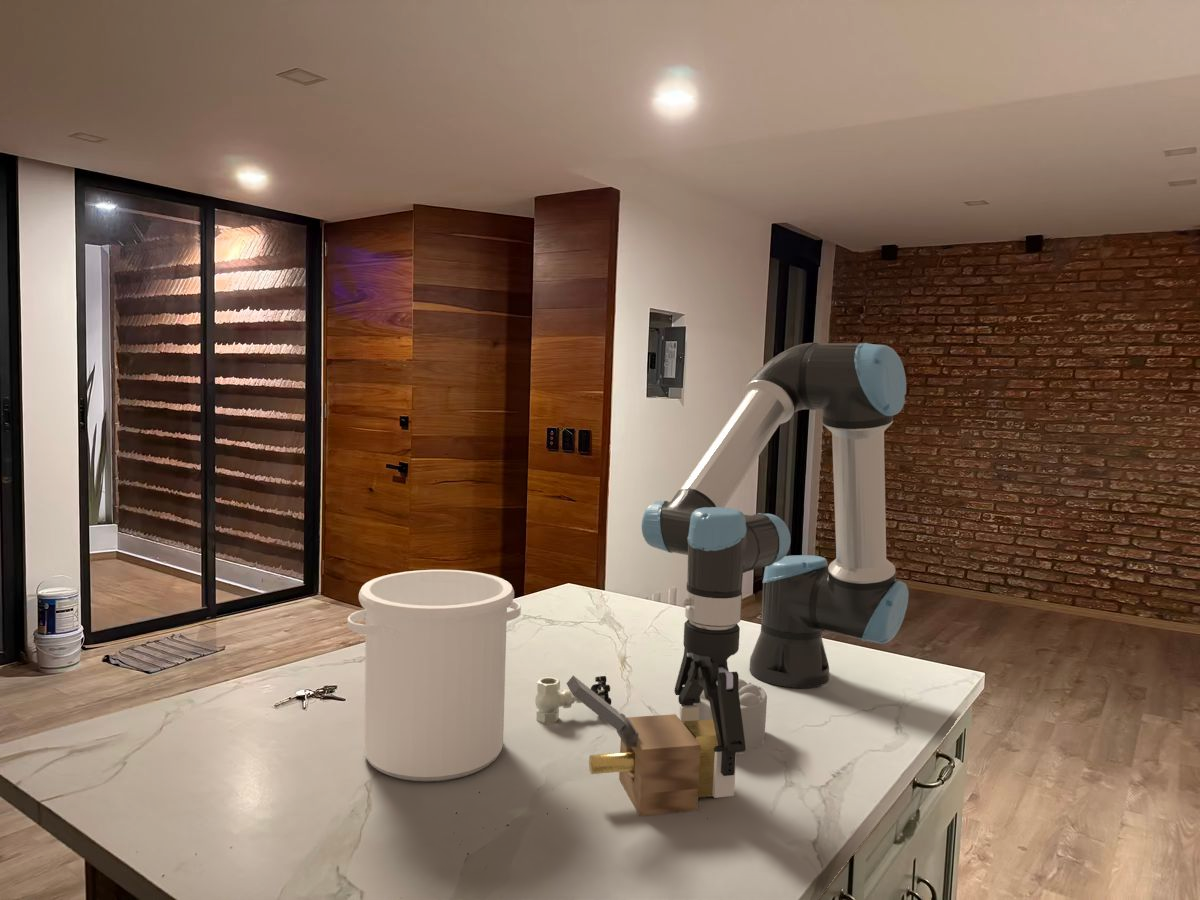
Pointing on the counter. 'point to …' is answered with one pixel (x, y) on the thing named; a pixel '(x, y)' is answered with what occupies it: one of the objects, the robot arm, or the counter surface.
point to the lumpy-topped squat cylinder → (745, 713)
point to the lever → (595, 703)
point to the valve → (561, 697)
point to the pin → (708, 741)
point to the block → (660, 764)
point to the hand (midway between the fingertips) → (704, 771)
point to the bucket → (434, 671)
